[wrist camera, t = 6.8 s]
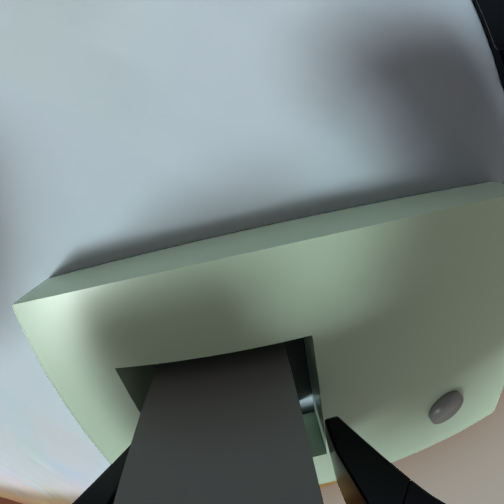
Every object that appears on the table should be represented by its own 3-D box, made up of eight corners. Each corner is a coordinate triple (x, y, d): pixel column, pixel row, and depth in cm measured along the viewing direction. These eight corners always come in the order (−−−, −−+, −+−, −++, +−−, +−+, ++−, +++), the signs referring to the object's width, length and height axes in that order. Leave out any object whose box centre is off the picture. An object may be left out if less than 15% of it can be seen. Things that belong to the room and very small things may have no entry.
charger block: (278, 320, 11) (327, 520, 3) (296, 401, 12) (331, 559, 5) (165, 342, 11) (107, 525, 4) (200, 417, 12) (186, 571, 5)
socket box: (492, 181, 9) (540, 190, 7) (471, 385, 12) (496, 414, 10) (48, 278, 10) (6, 308, 7) (151, 462, 13) (142, 502, 10)
